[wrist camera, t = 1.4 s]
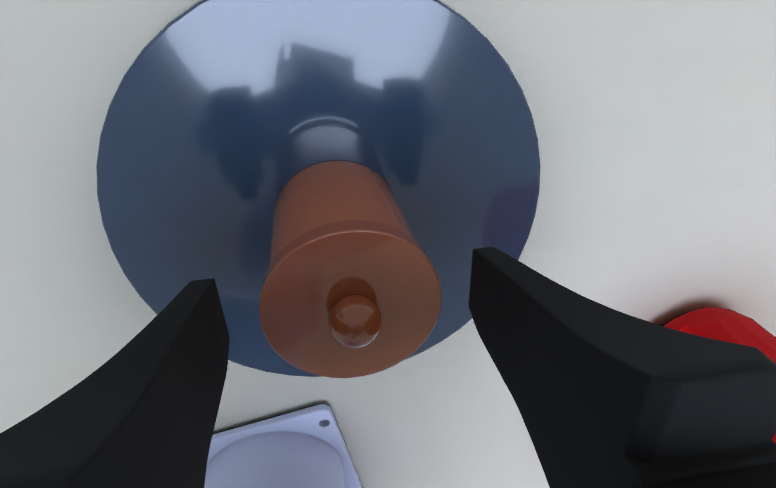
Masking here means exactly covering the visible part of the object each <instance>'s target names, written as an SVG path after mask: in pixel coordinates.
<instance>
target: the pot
mask: <svg viewBox="0 0 776 488" xmlns="http://www.w3.org/2000/svg"><path fill="white" fill-rule="evenodd" d="M441 300H442V293H441V285H440V281H439V277H438V275H437V273H436V270H435V268H434V266H433V264H432V262H431V260H430V258H429V257H428V255H427V253H426V252H425V250H424V249H423V248H422V247H421V246H420V245H419V244H418V243H417V242H416V241H415V239H414V236H413V234H412V232H411V230H410V228H409V226H408V224H407V221H406V219H405V217H404V215H403V213H402V211H401V209H400V206H399V204H398V202H397V200H396V198H395V196H394V194H393V191H392V190H391V188H390V187H389V185H388V184H387V183H386V181H385V180H384V179H383V178H382V177H381V176H379V175H378V174H377V173H376V172H374V171H373V170H371V169H369V168H367V167H365V166H363V165H360V164H357V163H353V162H348V161H327V162H322V163H318V164H315V165H312V166H310V167H308V168H306V169H304V170H302V171H301V172H299V173H298V174H296V175H295V176H294V177H293V178H292V179H291V180H290V181H289V182H288V183H287V184H286V185H285V187H284V188H283V190H282V191H281V193H280V195H279V197H278V199H277V202H276V205H275V210H274V217H273V227H272V238H271V248H270V259H269V268H268V270H267V272H266V274H265V276H264V279H263V282H262V286H261V292H260V300H259V319H260V324H261V327H262V330H263V333H264V335H265V337H266V339H267V341H268V343H269V344H270V345H271V347H272V348H273V349H274V350H275V352H276V353H277V354H278V355H280V356H281V357H282V358H283V359H284V360H286V361H287V362H288V363H290V364H291V365H293V366H295V367H297V368H299V369H301V370H303V371H306V372H308V373H312V374H315V375H319V376H325V377H332V378H353V377H360V376H365V375H370V374H374V373H377V372H380V371H383V370H385V369H387V368H390V367H392V366H394V365H396V364H398V363H399V362H401V361H403V360H404V359H406V358H407V357H408V356H410V355H411V354H412V353H413V352H415V351H416V350H417V349H418V348H419V347H420V346H421V345H422V344H423V343H424V341H425V340H426V339H427V337H428V336H429V335H430V333H431V332H432V330H433V328H434V326H435V324H436V322H437V319H438V316H439V313H440V308H441Z"/></svg>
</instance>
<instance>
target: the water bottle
mask: <svg viewBox="0 0 776 488" xmlns="http://www.w3.org/2000/svg"><path fill="white" fill-rule="evenodd" d="M664 327H667V328H671V329H674V330H678V331H682V332H686V333H690V334H694V335H698V336H702V337H706V338H711V339H716V340H721V341H726V342H731V343H736V344H741V345H746V346H751V347H756V348H758V349H759V350H760V351H761V352H763V353H764V354H765V355H766V356H768V357H769V358H770V359H771V360H773V361H774V362H775V363H776V337H775V336H773V335H772V334H771V333H769V332H768V331H767V330H765V329H764V328H763V327H762V326H760V325H759V324H758V323H757V322H755V321H754V320H753V319H751V318H749V317H746V316H744V315H742V314H739V313H737V312H735V311H732V310H730V309H722V308H713V307H707V308H702V309H697V310H693V311H690V312H688V313H686V314H684V315H682V316H680V317H677V318H675V319H673V320H672V321H670V322H669V323H667V324H666V325H664ZM772 440H773V441H774V442H775V443H776V434H775V435H774V437H773V439H772Z"/></svg>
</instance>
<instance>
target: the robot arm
mask: <svg viewBox="0 0 776 488" xmlns="http://www.w3.org/2000/svg"><path fill="white" fill-rule="evenodd" d="M468 306H469V309H470V312H471V315H472V318H473V320H474V323H475V326H476V328H477V331H478V333H479V335H480V337H481V339H482V341H483V343H484V345H485V347H486V349H487V351H488V352H489V354H490V356H491V358H492V360H493V362H494V363H495V365H496V367H497V369H498V371H499V372H500V374H501V376H502V378H503V380H504V382H505V383H506V385H507V387H508V389H509V391H510V393H511V394H512V396H513V398H514V400H515V402H516V404H517V406H518V408H519V411H520V413H521V415H522V418H523V420H524V423H525V425H526V427H527V430H528V432H529V435H530V437H531V439H532V442H533V445H534V447H535V450H536V452H537V455H538V457H539V460H540V463H541V465H542V468H543V470H544V473H545V476H546V478H547V481H548V484H549V487H550V488H776V443H775V442H774V441H773V440H772V439H773V437H774V435H775V434H776V363H775V362H774V361H773V360H771V359H770V358H769V357H768V356H766V355H765V354H764V353H763V352H761V351H760V350H759V349H758V348H756V347H751V346H746V345H741V344H736V343H731V342H726V341H721V340H716V339H711V338H706V337H702V336H698V335H694V334H690V333H686V332H682V331H678V330H674V329H671V328H667V327H664V326H660V325H657V324H654V323H651V322H648V321H645V320H642V319H639V318H636V317H633V316H630V315H627V314H624V313H621V312H619V311H616V310H614V309H611V308H609V307H606V306H604V305H602V304H599V303H597V302H594V301H592V300H590V299H588V298H585V297H583V296H581V295H579V294H577V293H575V292H573V291H571V290H569V289H567V288H565V287H563V286H561V285H559V284H558V283H556V282H554V281H552V280H550V279H548V278H547V277H545V276H543V275H541V274H540V273H538V272H536V271H535V270H533V269H531V268H529V267H528V266H526V265H524V264H523V263H521V262H519V261H518V260H516V259H514V258H513V257H511V256H509V255H508V254H506V253H504V252H502V251H501V250H499V249H497V248H495V247H486V248H477V249H473V253H472V265H471V278H470V291H469V303H468ZM229 340H230V336H229V332H228V328H227V325H226V321H225V317H224V313H223V309H222V305H221V301H220V298H219V294H218V290H217V286H216V282H215V278H212V279H203V280H194V281H190V282H189V283H188V284H187V285H186V286H185V287H184V288H183V289H182V290H181V291H180V292H179V293H178V294H177V295H176V296H175V297H174V299H173V300H172V301H171V302H170V303H169V304H168V305H167V306H166V307H165V308H164V309H163V310H162V311H161V312H160V313H159V314H158V315H157V316H156V317H155V318H154V319H153V320H152V321H151V322H150V323H149V324H148V325H147V326H146V327H145V328H144V329H143V330H142V331H141V332H140V333H139V334H138V335H136V336H135V337H134V338H133V339H132V340H131V341H130V342H129V343H128V344H127V345H126V346H124V347H123V348H122V349H121V350H120V351H119V352H118V353H117V354H116V355H114V356H113V357H112V358H111V359H110V360H108V361H107V362H106V363H105V364H103V365H102V366H101V367H100V368H98V369H97V370H96V371H95V372H93V373H92V374H91V375H89V376H88V377H87V378H85V379H84V380H83V381H81V382H80V383H79V384H77V385H76V386H74V387H73V388H72V389H70V390H69V391H67V392H66V393H64V394H63V395H61V396H60V397H58V398H57V399H55V400H54V401H52V402H51V403H49V404H48V405H46V406H45V407H43V408H42V409H40V410H39V411H37V412H36V413H34V414H32V415H31V416H29V417H27V418H26V419H24V420H23V421H21V422H19V423H18V424H16V425H14V426H13V427H11V428H9V429H7V430H6V431H4V432H2V433H0V488H363V487H362V485H361V482H360V480H359V477H358V475H357V472H356V470H355V467H354V465H353V462H352V460H351V457H350V455H349V452H348V450H347V447H346V445H345V442H344V440H343V437H342V435H341V432H340V430H339V427H338V425H337V422H336V420H335V417H334V415H333V412H332V410H331V408H330V407H329V406H328V405H324V404H321V405H316V406H313V407H309V408H306V409H302V410H298V411H295V412H291V413H288V414H284V415H281V416H277V417H274V418H270V419H267V420H263V421H259V422H256V423H252V424H249V425H245V426H242V427H238V428H235V429H231V430H227V431H224V432H220V433H217V434H213V430H214V426H215V422H216V417H217V413H218V409H219V404H220V400H221V395H222V391H223V386H224V382H225V377H226V372H227V365H228V354H229ZM322 420H325V421H322Z"/></svg>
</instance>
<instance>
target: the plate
mask: <svg viewBox="0 0 776 488" xmlns="http://www.w3.org/2000/svg"><path fill="white" fill-rule="evenodd" d="M327 161H348V162H353V163H357V164H360V165H363V166H365V167H367V168H369V169H371V170H373V171H374V172H376V173H377V174H378V175H379V176H381V177H382V178H383V179H384V180H385V181H386V183H387V184H388V185H389V187H390V188H391V190H392V191H393V194H394V196H395V198H396V200H397V202H398V204H399V206H400V209H401V211H402V213H403V215H404V217H405V219H406V221H407V224H408V226H409V228H410V230H411V232H412V234H413V236H414V239H415V241H416V242H417V243H418V244H419V245H420V246H421V247H422V248H423V249H424V250H425V252H426V253H427V255H428V257H429V258H430V260H431V262H432V264H433V266H434V268H435V270H436V273H437V275H438V277H439V281H440V285H441V293H442V300H441V308H440V313H439V316H438V319H437V322H436V324H435V326H434V328H433V330H432V332H431V333H430V335H429V336H428V337H427V339H426V340H425V341H424V343H423V344H422V345H421V346H420V347H419V348H418V349H417V350H416V351H415V352H413V353H412V354H411V355H410V356H408V357H407V358H406V359H408V358H410V357H412V356H414V355H417V354H419V353H421V352H423V351H425V350H427V349H429V348H430V347H432V346H434V345H436V344H438V343H439V342H441V341H443V340H444V339H446V338H447V337H448V336H450V335H451V334H453V333H454V332H456V331H457V330H458V329H460V328H461V327H462V326H464V325H465V324H466V323H467V322H468V321H469V320H471V319H472V315H471V312H470V309H469V306H468V303H469V291H470V278H471V265H472V253H473V249H477V248H486V247H495V248H497V249H499V250H501V251H502V252H504V253H506V254H508V255H509V256H511V257H513V258H514V259H516V260H518V259H519V257H520V255H521V253H522V250H523V248H524V246H525V244H526V241H527V239H528V237H529V233H530V230H531V227H532V223H533V220H534V217H535V213H536V207H537V201H538V195H539V185H540V158H539V147H538V139H537V135H536V130H535V126H534V122H533V118H532V114H531V111H530V109H529V106H528V104H527V101H526V99H525V96H524V94H523V91H522V89H521V87H520V85H519V83H518V82H517V80H516V78H515V76H514V75H513V73H512V71H511V69H510V68H509V66H508V64H507V63H506V61H505V60H504V59H503V58H502V56H501V55H500V54H499V53H498V51H497V50H496V49H495V48H494V46H493V45H492V44H491V43H490V41H489V40H488V39H487V38H486V37H485V36H484V35H483V34H482V33H481V32H479V31H478V30H477V29H476V28H475V27H474V26H473V25H472V24H471V23H470V22H469V21H468V20H467V19H465V18H464V17H463V16H461V15H460V14H458V13H457V12H455V11H454V10H452V9H451V8H449V7H448V6H447V5H445V4H444V3H442V2H441V1H439V0H202V1H200V2H198V3H196V4H195V5H194V6H192V7H191V8H189V9H188V10H187V11H185V12H184V13H182V14H181V15H180V16H178V17H177V18H175V19H174V20H173V21H171V22H170V23H169V24H168V25H167V26H166V27H165V28H164V29H163V30H161V31H160V32H159V33H158V34H157V35H156V36H155V37H154V38H153V39H152V40H151V41H150V42H149V43H148V44H147V45H146V46H145V47H144V49H143V50H142V51H141V53H140V54H139V56H138V57H137V58H136V60H135V61H134V63H133V64H132V65H131V67H130V68H129V69H128V71H127V72H126V74H125V75H124V77H123V79H122V81H121V83H120V85H119V87H118V89H117V91H116V93H115V95H114V97H113V99H112V101H111V103H110V105H109V109H108V112H107V115H106V119H105V122H104V125H103V129H102V132H101V135H100V143H99V151H98V158H97V195H98V201H99V206H100V211H101V216H102V222H103V226H104V228H105V231H106V234H107V237H108V240H109V243H110V246H111V248H112V251H113V253H114V255H115V257H116V259H117V261H118V263H119V264H120V266H121V268H122V270H123V272H124V274H125V276H126V277H127V278H128V280H129V281H130V283H131V284H132V285H133V287H134V288H135V290H136V291H137V292H138V294H139V295H140V297H141V298H142V299H143V300H144V301H145V302H146V303H147V304H148V305H149V306H150V307H151V308H152V310H153V311H154V312H155V313H156V314H157V315H158V314H159V313H160V312H161V311H162V310H163V309H164V308H165V307H166V306H167V305H168V304H169V303H170V302H171V301H172V300H173V299H174V297H175V296H176V295H177V294H178V293H179V292H180V291H181V290H182V289H183V288H184V287H185V286H186V285H187V284H188V283H189V282H190V281H194V280H203V279H212V278H215V282H216V286H217V290H218V294H219V298H220V301H221V305H222V309H223V313H224V317H225V321H226V325H227V328H228V332H229V336H230V340H229V354H228V360H230V361H233V362H235V363H238V364H241V365H243V366H247V367H251V368H255V369H259V370H262V371H266V372H272V373H278V374H285V375H293V376H309V377H319V375H315V374H312V373H308V372H306V371H303V370H301V369H299V368H297V367H295V366H293V365H291V364H290V363H288V362H287V361H286V360H284V359H283V358H282V357H281V356H280V355H278V354H277V353H276V352H275V350H274V349H273V348H272V347H271V345H270V344H269V343H268V341H267V339H266V337H265V335H264V333H263V330H262V327H261V324H260V319H259V300H260V292H261V286H262V282H263V279H264V276H265V274H266V272H267V270H268V268H269V259H270V248H271V238H272V227H273V217H274V210H275V205H276V202H277V199H278V197H279V195H280V193H281V191H282V190H283V188H284V187H285V185H286V184H287V183H288V182H289V181H290V180H291V179H292V178H293V177H294V176H295V175H296V174H298V173H299V172H301V171H302V170H304V169H306V168H308V167H310V166H312V165H315V164H318V163H322V162H327ZM404 360H405V359H404Z"/></svg>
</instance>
